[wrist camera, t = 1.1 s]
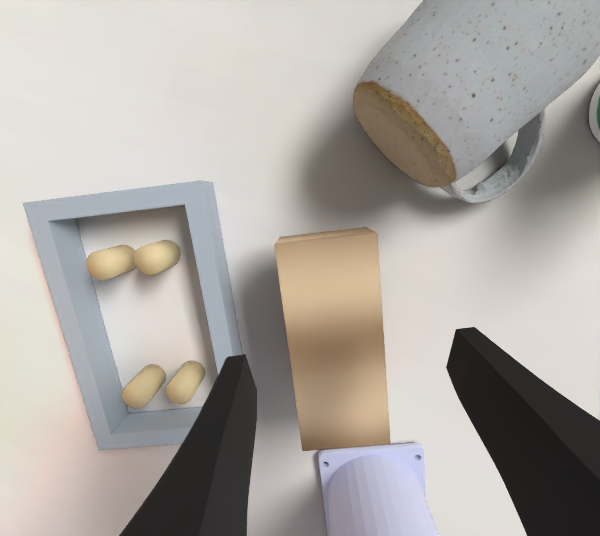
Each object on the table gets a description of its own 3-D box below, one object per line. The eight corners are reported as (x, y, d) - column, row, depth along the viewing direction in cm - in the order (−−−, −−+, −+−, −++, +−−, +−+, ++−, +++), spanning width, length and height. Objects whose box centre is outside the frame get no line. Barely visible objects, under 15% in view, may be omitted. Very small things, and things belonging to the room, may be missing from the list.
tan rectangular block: (378, 408, 20) (390, 444, 17) (303, 414, 21) (302, 451, 18) (365, 227, 18) (377, 232, 15) (279, 237, 18) (274, 244, 15)
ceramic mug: (334, 114, 19) (355, 61, 11) (436, -3, 17) (538, -153, 10) (449, 232, 20) (533, 255, 13) (552, 135, 19) (714, 96, 11)
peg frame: (253, 416, 24) (246, 441, 21) (117, 427, 24) (95, 453, 22) (212, 182, 20) (199, 180, 17) (52, 202, 20) (18, 203, 18)
